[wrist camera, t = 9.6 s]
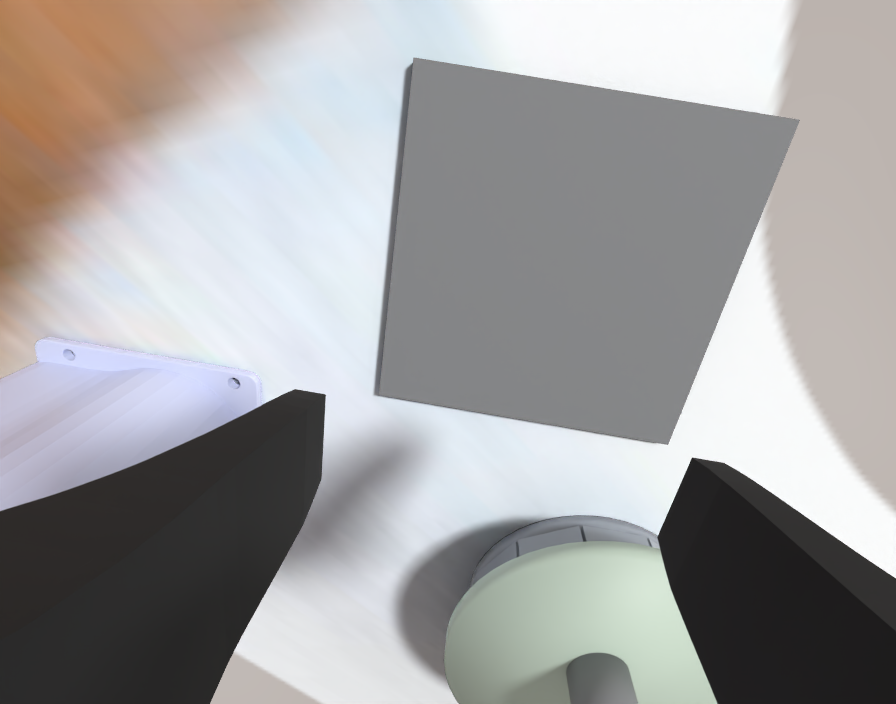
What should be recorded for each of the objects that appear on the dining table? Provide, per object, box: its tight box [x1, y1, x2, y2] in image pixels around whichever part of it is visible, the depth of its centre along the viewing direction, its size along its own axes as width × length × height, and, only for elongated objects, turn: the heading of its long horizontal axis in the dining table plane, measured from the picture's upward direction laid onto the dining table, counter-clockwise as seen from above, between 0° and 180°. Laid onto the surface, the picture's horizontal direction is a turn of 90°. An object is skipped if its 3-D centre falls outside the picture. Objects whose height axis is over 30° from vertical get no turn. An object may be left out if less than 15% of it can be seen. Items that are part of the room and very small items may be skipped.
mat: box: [379, 58, 800, 445], centre depth 17 cm, size 12×12×1 cm
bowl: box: [469, 516, 660, 589], centre depth 22 cm, size 11×11×3 cm
